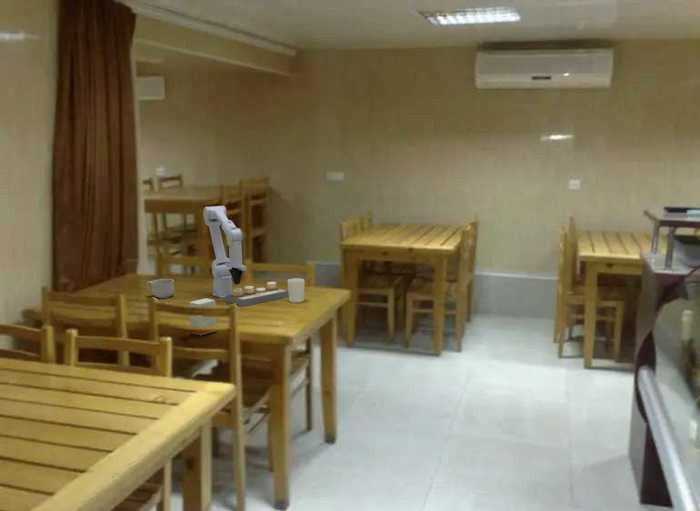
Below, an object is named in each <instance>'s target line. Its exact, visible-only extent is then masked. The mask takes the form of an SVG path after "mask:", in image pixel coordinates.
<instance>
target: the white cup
mask: <svg viewBox="0 0 700 511" xmlns="http://www.w3.org/2000/svg"><path fill="white" fill-rule="evenodd" d="M305 283H306V282H305V279H304V278H300V277H299V278H289V279H288V280H287V291H288V295H289V297H288V301H289V302H290V303H294V304H295V303H302V302H303V303H304V301H305Z"/></svg>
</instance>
